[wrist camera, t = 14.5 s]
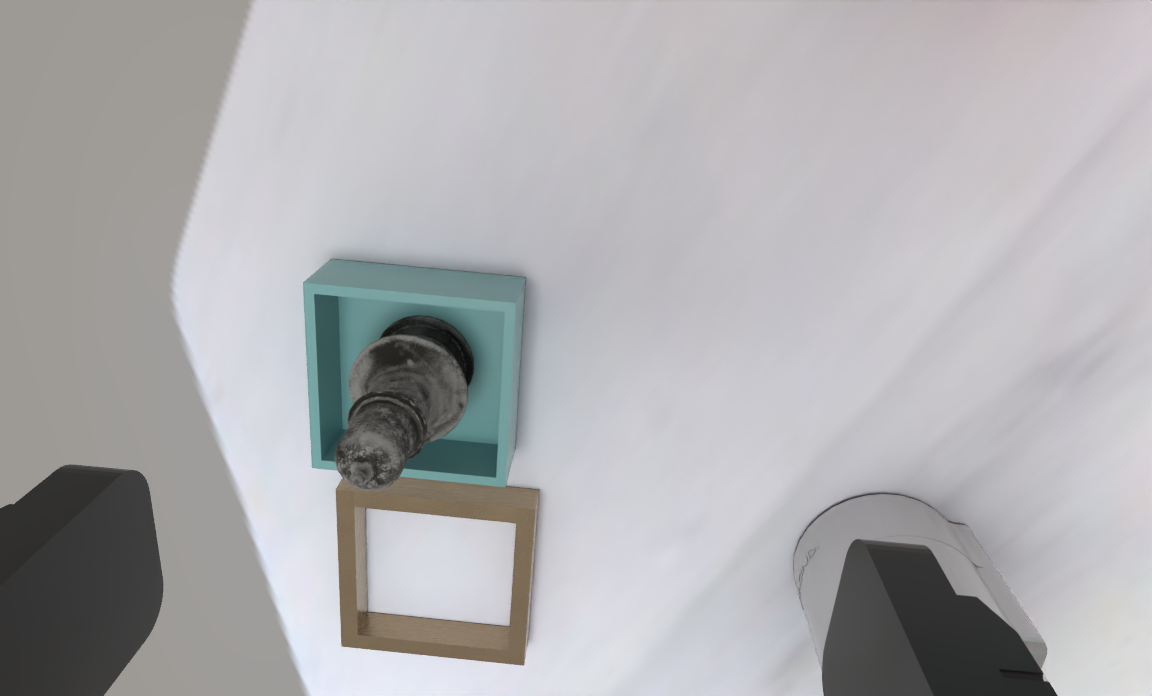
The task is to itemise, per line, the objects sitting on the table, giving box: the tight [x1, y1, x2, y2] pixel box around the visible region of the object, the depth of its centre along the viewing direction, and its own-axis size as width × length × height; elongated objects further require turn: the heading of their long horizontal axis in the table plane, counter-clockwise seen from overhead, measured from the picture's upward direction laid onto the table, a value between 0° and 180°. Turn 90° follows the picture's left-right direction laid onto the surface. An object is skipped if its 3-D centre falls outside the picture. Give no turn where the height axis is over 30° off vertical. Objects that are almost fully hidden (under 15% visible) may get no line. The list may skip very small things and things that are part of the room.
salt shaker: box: [335, 315, 474, 491], centre depth 38 cm, size 6×6×12 cm
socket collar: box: [336, 477, 539, 665], centre depth 48 cm, size 11×11×2 cm
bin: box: [303, 259, 526, 487], centre depth 42 cm, size 10×10×4 cm
